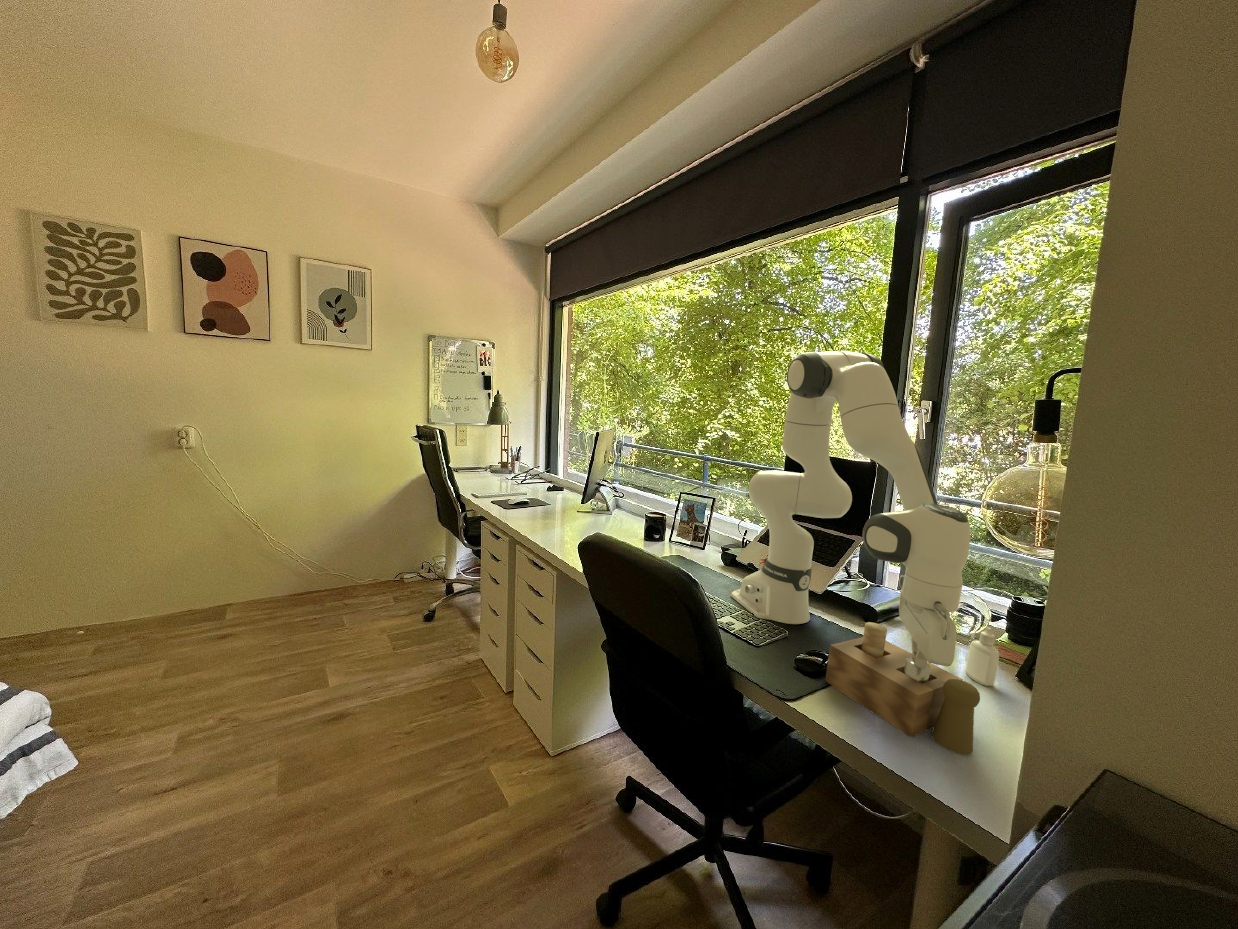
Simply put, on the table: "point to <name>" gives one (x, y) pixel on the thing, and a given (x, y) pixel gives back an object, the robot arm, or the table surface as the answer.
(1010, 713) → the table surface
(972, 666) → the eye dropper bottle
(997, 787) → the table surface
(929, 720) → the socket block
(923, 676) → the grey metal peg
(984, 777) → the table surface
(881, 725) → the table surface
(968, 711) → the cork
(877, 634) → the beech peg
